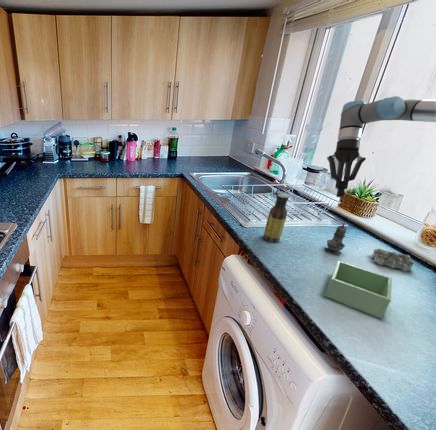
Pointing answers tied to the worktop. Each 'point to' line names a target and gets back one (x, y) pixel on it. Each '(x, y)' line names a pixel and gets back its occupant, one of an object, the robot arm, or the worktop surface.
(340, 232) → the dark stone statuette
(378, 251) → the egg carton
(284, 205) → the sauce bottle
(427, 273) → the worktop surface
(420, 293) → the worktop surface
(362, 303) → the box
